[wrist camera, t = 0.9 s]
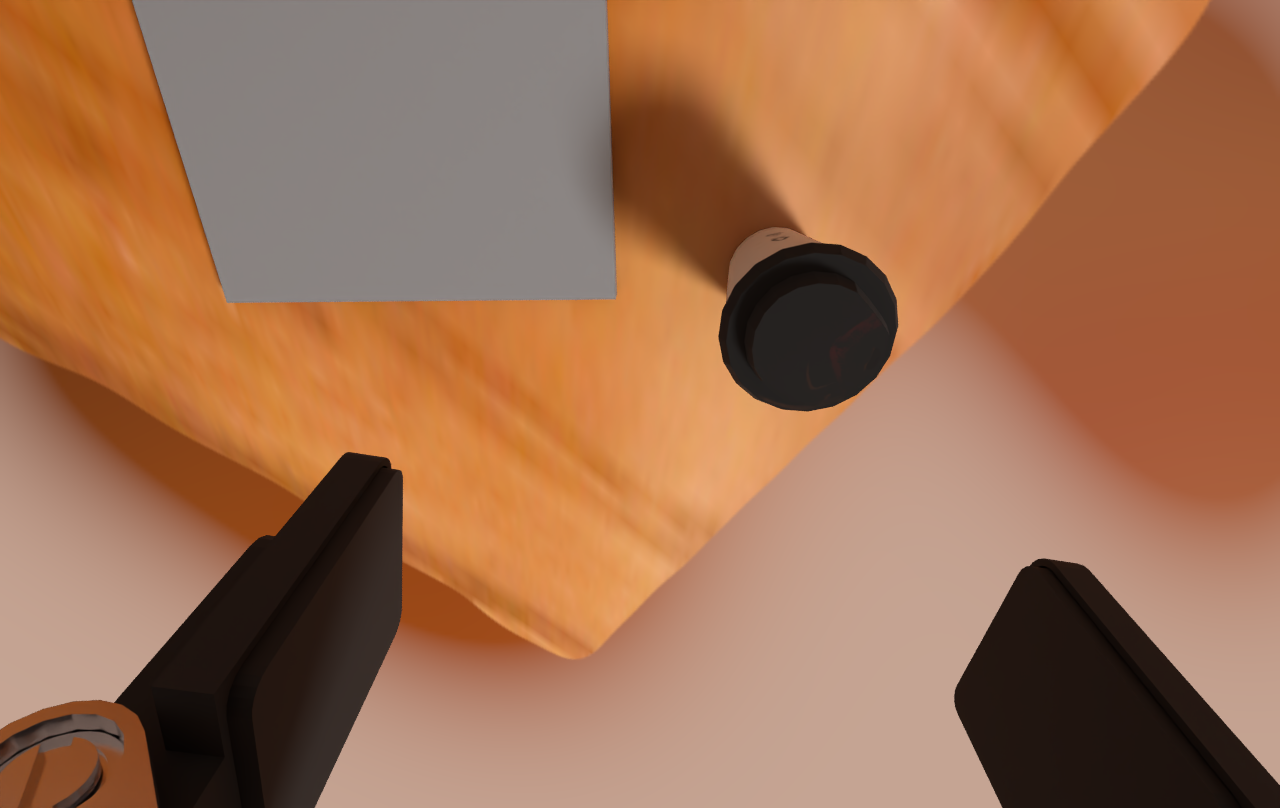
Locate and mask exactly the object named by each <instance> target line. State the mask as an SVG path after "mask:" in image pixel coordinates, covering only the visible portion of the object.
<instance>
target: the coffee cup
mask: <svg viewBox="0 0 1280 808" xmlns="http://www.w3.org/2000/svg"><path fill="white" fill-rule="evenodd" d="M897 328H898V315H897V300H896V297H895V295H894V293H893V291H892V288H891V286H890V284H889V282H888V279H887V277H886V275H885V274H884V273H883V272H882V271H881V270H880V269H879V268H878V267H877V266H876V265H875V264H874V263H873V262H872V261H871V260H870V259H869V258H867V257H866V256H864V255H862V254H860V253H858V252H855V251H853V250H851V249H849V248H846V247H844V246H842V245H836V244H824V243H821V242H818V241H816V240H814V239H812V238H809V237H807V236H805V235H803V234H800V233H798V232H796V231H794V230H791V229H789V228H780V227H772V228H768V229H763V230H759V231H758V232H756V233H754V234H752V235H751V236H749V237H747V238H746V239H745V240H744V241H743V242H742V243H741V244H740V246H739V247H738V248H737V249H736V251H735V253H734V255H733V257H732V259H731V261H730V266H729V273H728V285H727V299H726V304H725V306H724V308H723V310H722V316H721V323H720V330H719V342H720V347H721V353H722V358H723V362H724V364H725V365H726V367H727V369H728V370H729V372H730V374H731V375H732V377H733V379H734V380H735V382H736V383H737V384H738V385H739V386H740V387H741V388H743V389H744V390H745V391H746V392H747V393H749V394H750V395H751V396H752V397H753V398H755V399H757V400H759V401H762V402H765V403H767V404H770V405H772V406H775V407H777V408H780V409H784V410H797V411H812V410H817V409H823V408H828V407H833V406H835V405H837V404H839V403H841V402H843V401H845V400H847V399H849V398H851V397H853V396H855V395H857V394H858V393H859V392H860V391H861V390H862V389H864V388H865V387H866V386H867V385H868V384H869V383H870V382H872V381H873V380H874V379H875V378H876V377H877V375H878V374H879V372H880V371H881V369H882V367H883V366H884V364H885V363H886V361H887V360H888V358H889V357H890V354H891V350H892V347H893V343H894V339H895V336H896V332H897Z"/></svg>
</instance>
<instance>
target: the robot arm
mask: <svg viewBox="0 0 1280 808" xmlns="http://www.w3.org/2000/svg"><path fill="white" fill-rule="evenodd" d="M402 522H403V475H402V472H401V471H400V470H396V469H391V463H390V460H389V459H388V458H384V457H378V456H371V455H365V454H358V453H352V452H348V453H345V454H344V455H343V456H342V457H341V458H340V459H339V460H338V461H337V463H336V464H335V465H334V466H333V467H332V469H331V470H330V471H329V472H328V474H327V475H326V476H325V477H324V478H323V480H322V481H321V482H320V483H319V484H318V486H317V487H316V488H315V489H314V490H313V492H312V493H311V494H310V495H309V496H308V498H307V499H306V500H305V501H304V502H303V504H302V505H301V506H300V507H299V508H298V510H297V511H296V512H295V513H294V514H293V516H292V517H291V518H290V519H289V520H288V522H287V523H286V524H285V525H284V526H283V528H282V529H281V530H280V531H279V532H278V534H277V535H276V536H269V535H266V536H263V537H260V538H258V539H257V540H256V541H255V542H254V543H253V544H252V545H251V546H250V547H249V548H248V549H247V550H246V551H245V552H244V554H243V555H242V556H241V557H240V558H239V559H238V561H237V562H236V563H235V564H234V565H233V566H232V567H231V569H230V570H229V571H228V572H227V573H226V574H225V576H224V577H223V578H222V579H221V580H220V581H219V583H218V584H217V585H216V586H215V587H214V588H213V589H212V590H211V592H210V593H209V594H208V595H207V596H206V597H205V599H204V600H203V601H202V602H201V603H200V604H199V605H198V607H197V608H196V609H195V610H194V611H193V612H192V613H191V615H190V616H189V617H188V618H187V619H186V620H185V622H184V623H183V624H182V625H181V626H180V627H179V628H178V630H177V631H176V632H175V633H174V634H173V635H172V637H171V638H170V639H169V640H168V641H167V642H166V644H165V645H164V646H163V647H162V648H161V649H160V650H159V651H158V653H157V654H156V655H155V656H154V657H153V659H152V660H151V661H150V662H149V663H148V664H147V665H146V667H145V668H144V669H143V670H142V671H141V672H140V674H139V675H138V676H137V677H136V678H135V679H134V680H133V682H132V683H131V684H130V685H129V686H128V687H127V688H126V690H125V691H124V692H123V693H122V694H121V695H120V696H119V698H118V699H117V700H116V701H115V702H114V703H111V702H107V701H102V700H92V701H74V702H69V703H65V704H61V705H57V706H53V707H49V708H45V709H42V710H40V711H37V712H35V713H32V714H30V715H28V716H26V717H23V718H21V719H19V720H16V721H14V722H12V723H10V724H8V725H6V726H5V727H3V728H2V729H1V730H0V808H315V805H316V804H317V801H318V799H319V797H320V795H321V793H322V791H323V789H324V787H325V784H326V782H327V780H328V778H329V776H330V774H331V771H332V769H333V767H334V765H335V763H336V761H337V759H338V757H339V754H340V752H341V750H342V748H343V746H344V744H345V742H346V739H347V737H348V735H349V733H350V731H351V729H352V727H353V724H354V722H355V720H356V718H357V716H358V714H359V712H360V709H361V707H362V705H363V703H364V701H365V699H366V697H367V695H368V692H369V690H370V688H371V686H372V684H373V682H374V680H375V677H376V675H377V673H378V671H379V669H380V667H381V665H382V663H383V660H384V658H385V656H386V654H387V652H388V650H389V648H390V645H391V643H392V641H393V639H394V637H395V635H396V632H397V629H398V626H399V622H400V618H401V611H402ZM954 699H955V700H954V702H955V707H956V710H957V713H958V716H959V718H960V720H961V722H962V724H963V726H964V728H965V730H966V732H967V734H968V736H969V738H970V741H971V743H972V745H973V747H974V749H975V751H976V753H977V755H978V757H979V760H980V761H981V764H982V765H983V768H984V770H985V772H986V774H987V776H988V778H989V780H990V783H991V785H992V787H993V789H994V791H995V793H996V795H997V797H998V799H999V801H1000V803H1001V806H1002V808H1280V785H1279V784H1278V783H1277V782H1276V781H1275V779H1274V778H1273V777H1272V776H1271V775H1270V774H1269V773H1268V772H1267V770H1266V769H1265V768H1264V767H1263V766H1262V765H1261V764H1260V762H1259V761H1258V760H1257V759H1256V758H1255V757H1254V756H1253V755H1252V753H1251V752H1250V751H1249V750H1248V749H1247V748H1246V747H1245V746H1244V744H1243V743H1242V742H1241V741H1240V740H1239V739H1238V738H1237V737H1236V735H1235V734H1234V733H1233V732H1232V731H1231V730H1230V729H1229V728H1228V727H1227V725H1226V724H1225V723H1224V722H1223V721H1222V720H1221V718H1220V717H1219V716H1218V715H1217V714H1216V713H1215V712H1214V711H1213V709H1212V708H1211V707H1210V706H1209V705H1208V704H1207V703H1206V702H1205V700H1203V698H1202V697H1201V696H1200V695H1199V694H1198V692H1197V691H1196V690H1195V689H1194V688H1193V687H1192V686H1191V685H1190V683H1189V682H1188V681H1187V680H1186V679H1185V678H1184V677H1183V676H1182V674H1181V673H1180V672H1179V671H1178V670H1177V669H1176V668H1175V667H1174V666H1173V664H1172V663H1171V662H1170V661H1169V660H1168V659H1167V657H1166V656H1165V655H1164V654H1163V653H1162V652H1161V651H1160V650H1159V648H1158V647H1157V646H1156V645H1155V644H1154V643H1153V642H1152V641H1151V640H1150V638H1149V637H1148V636H1147V635H1146V634H1145V633H1144V631H1143V630H1142V629H1141V628H1140V627H1139V626H1138V625H1137V624H1136V622H1135V621H1134V620H1133V619H1132V618H1131V617H1130V616H1129V615H1128V613H1127V612H1126V611H1125V610H1124V609H1123V608H1122V607H1121V605H1120V604H1119V603H1118V602H1117V601H1116V600H1115V599H1114V598H1113V596H1112V595H1111V594H1110V593H1109V592H1108V591H1107V590H1106V589H1105V587H1104V586H1103V585H1102V584H1101V583H1100V582H1099V581H1098V579H1097V578H1096V577H1095V576H1094V575H1093V574H1092V573H1091V572H1090V570H1088V569H1087V568H1086V567H1085V566H1083V565H1080V564H1077V563H1070V562H1064V561H1057V560H1050V559H1038V560H1036V561H1034V562H1033V563H1032V564H1031V565H1030V566H1027V567H1025V568H1023V569H1022V570H1021V571H1020V572H1019V574H1018V576H1017V578H1016V580H1015V581H1014V583H1013V585H1012V587H1011V588H1010V590H1009V592H1008V594H1007V596H1006V597H1005V599H1004V601H1003V603H1002V605H1001V607H1000V608H999V610H998V612H997V614H996V616H995V617H994V619H993V621H992V623H991V625H990V627H989V628H988V630H987V632H986V634H985V636H984V637H983V639H982V641H981V643H980V645H979V646H978V648H977V650H976V652H975V654H974V655H973V657H972V659H971V661H970V663H969V664H968V666H967V668H966V670H965V672H964V674H963V675H962V677H961V679H960V681H959V683H958V684H957V687H956V689H955V695H954Z"/></svg>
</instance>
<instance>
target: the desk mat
mask: <svg viewBox="0 0 1280 808" xmlns="http://www.w3.org/2000/svg"><path fill="white" fill-rule="evenodd" d="M132 2H133V5H134V8H135V11H136V15H137V18H138V21H139V24H140V27H141V30H142V34H143V37H144V40H145V43H146V46H147V50H148V53H149V56H150V59H151V62H152V65H153V69H154V72H155V75H156V78H157V81H158V85H159V88H160V91H161V94H162V97H163V100H164V104H165V107H166V110H167V113H168V116H169V120H170V123H171V126H172V129H173V132H174V135H175V139H176V142H177V145H178V148H179V151H180V155H181V158H182V161H183V164H184V167H185V170H186V174H187V177H188V180H189V183H190V186H191V190H192V193H193V196H194V199H195V202H196V205H197V209H198V212H199V215H200V218H201V221H202V225H203V228H204V231H205V234H206V237H207V240H208V244H209V247H210V250H211V253H212V256H213V260H214V263H215V266H216V269H217V272H218V275H219V279H220V282H221V285H222V288H223V291H224V295H225V298H226V301H227V303H247V302H358V301H469V300H581V299H616V295H617V283H616V254H615V225H614V195H613V166H612V137H611V107H610V78H609V49H608V20H607V0H132Z"/></svg>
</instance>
